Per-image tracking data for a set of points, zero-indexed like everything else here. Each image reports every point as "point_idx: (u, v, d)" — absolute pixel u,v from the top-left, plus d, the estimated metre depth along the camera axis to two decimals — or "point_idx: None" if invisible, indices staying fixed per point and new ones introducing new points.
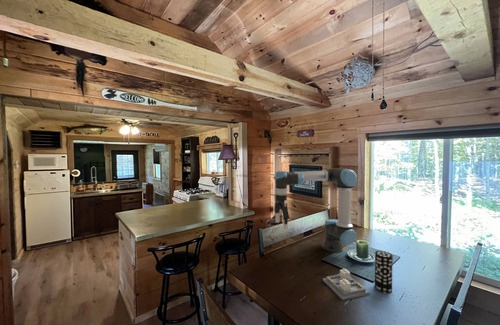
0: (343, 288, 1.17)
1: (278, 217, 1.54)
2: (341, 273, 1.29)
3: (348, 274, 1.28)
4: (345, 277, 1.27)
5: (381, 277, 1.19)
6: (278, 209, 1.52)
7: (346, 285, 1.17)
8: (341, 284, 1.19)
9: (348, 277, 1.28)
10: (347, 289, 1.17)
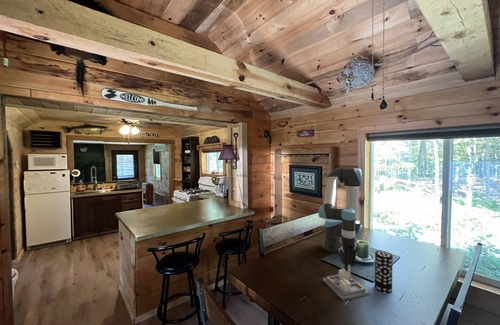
0: (343, 288, 1.17)
1: None
2: (340, 273, 1.29)
3: (347, 274, 1.27)
4: (344, 277, 1.27)
5: (381, 277, 1.19)
6: (348, 257, 1.29)
7: (346, 285, 1.17)
8: (341, 284, 1.19)
9: (347, 277, 1.27)
10: (347, 289, 1.17)
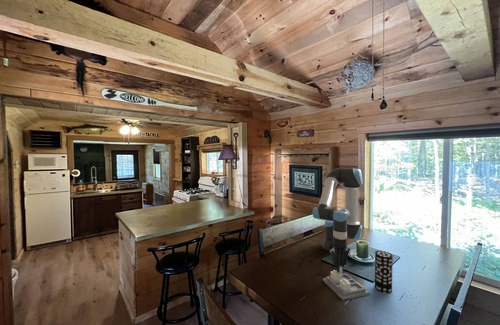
0: (343, 288, 1.17)
1: None
2: (331, 275, 1.28)
3: (338, 276, 1.26)
4: (335, 279, 1.25)
5: (381, 277, 1.19)
6: (340, 258, 1.28)
7: (346, 285, 1.17)
8: (341, 284, 1.19)
9: (338, 279, 1.26)
10: (347, 289, 1.17)
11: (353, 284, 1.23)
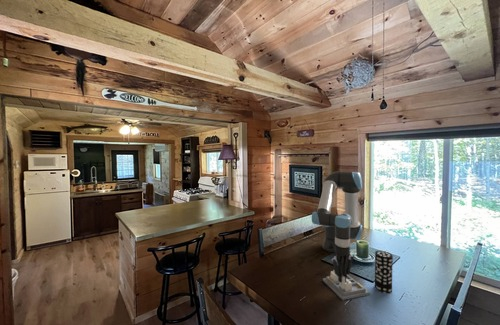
0: (345, 288, 1.17)
1: None
2: (331, 275, 1.28)
3: None
4: (335, 279, 1.25)
5: (381, 277, 1.19)
6: None
7: (347, 285, 1.17)
8: None
9: None
10: (348, 289, 1.17)
11: (353, 284, 1.23)
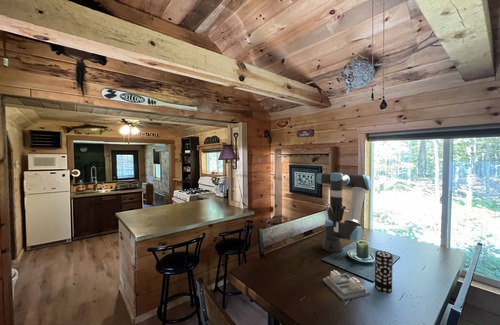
0: (353, 286, 1.18)
1: None
2: (331, 275, 1.28)
3: (338, 276, 1.26)
4: (335, 279, 1.25)
5: (381, 277, 1.19)
6: (337, 215, 1.44)
7: (355, 283, 1.18)
8: (350, 282, 1.20)
9: (338, 279, 1.26)
10: (356, 287, 1.18)
11: None
